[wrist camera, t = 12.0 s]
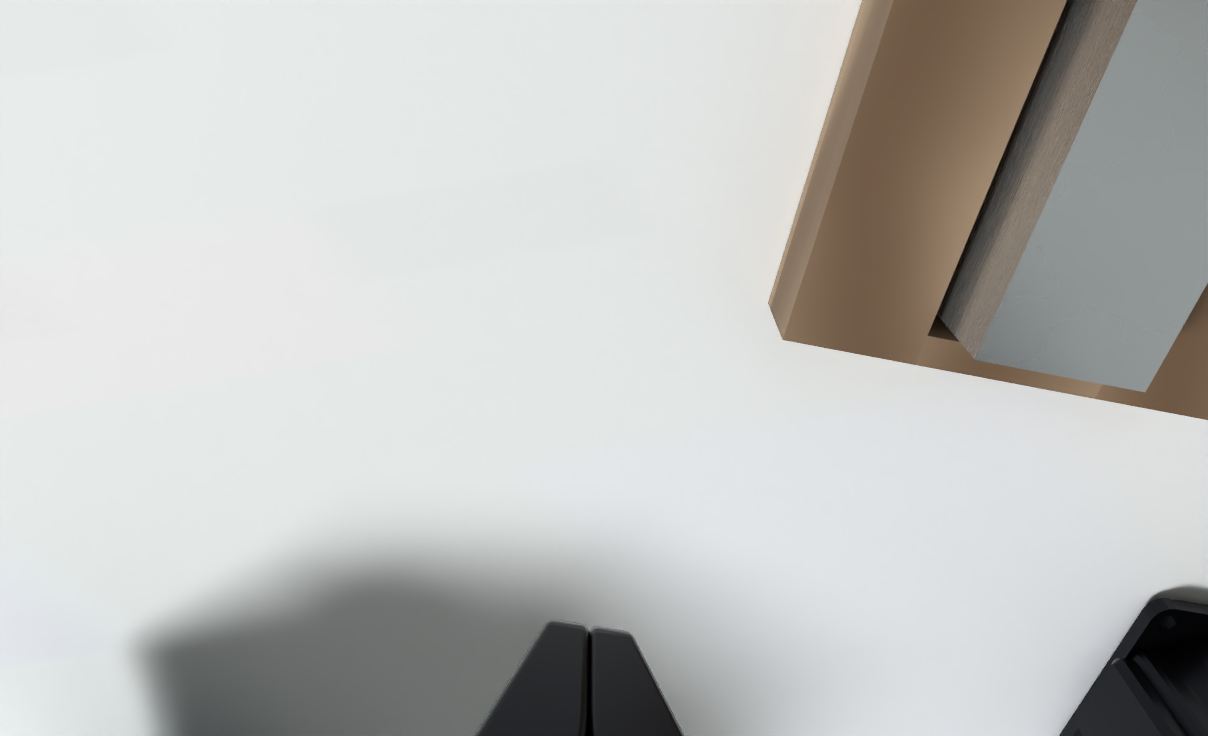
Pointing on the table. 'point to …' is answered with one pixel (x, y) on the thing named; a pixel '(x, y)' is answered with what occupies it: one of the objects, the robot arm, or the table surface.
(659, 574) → the table surface
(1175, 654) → the robot arm
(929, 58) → the rail base
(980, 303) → the rail
